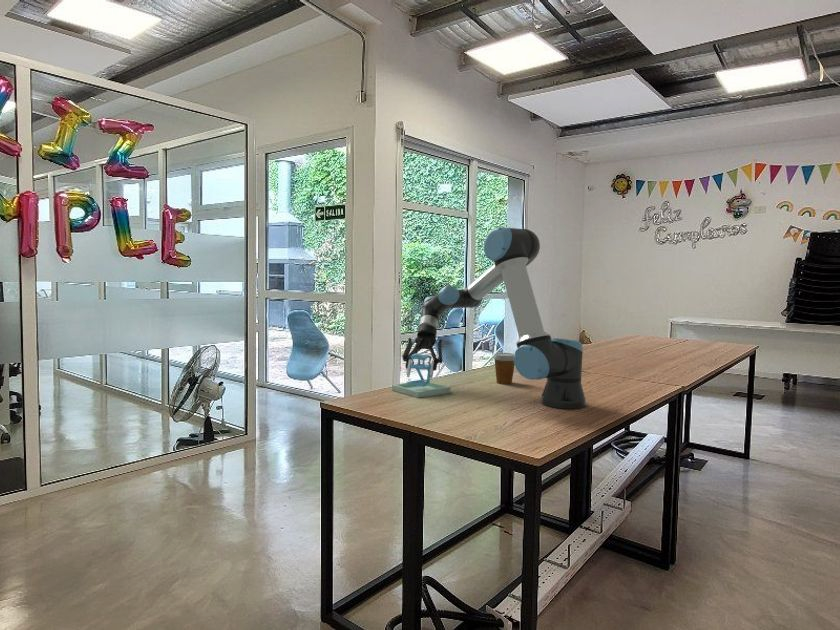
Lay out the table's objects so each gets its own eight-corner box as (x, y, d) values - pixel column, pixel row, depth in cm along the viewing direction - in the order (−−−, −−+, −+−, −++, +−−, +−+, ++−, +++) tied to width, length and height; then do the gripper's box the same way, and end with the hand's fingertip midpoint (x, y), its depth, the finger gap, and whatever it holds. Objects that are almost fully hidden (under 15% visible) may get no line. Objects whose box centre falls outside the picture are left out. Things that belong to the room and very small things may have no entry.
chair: (435, 383, 214) (435, 352, 213) (424, 386, 207) (424, 355, 206) (417, 381, 218) (418, 350, 217) (406, 384, 211) (407, 353, 210)
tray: (424, 385, 224) (424, 380, 223) (450, 392, 211) (450, 386, 211) (391, 390, 214) (391, 384, 213) (417, 397, 201) (417, 392, 201)
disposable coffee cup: (490, 380, 236) (491, 352, 235) (512, 380, 237) (513, 352, 236) (495, 385, 226) (496, 356, 225) (518, 384, 227) (519, 356, 226)
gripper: (454, 336, 224) (447, 383, 210) (403, 334, 228) (393, 380, 214) (452, 324, 218) (446, 371, 204) (400, 322, 222) (390, 368, 208)
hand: (419, 375), depth 209 cm, fingers closed on chair, 8 cm apart
